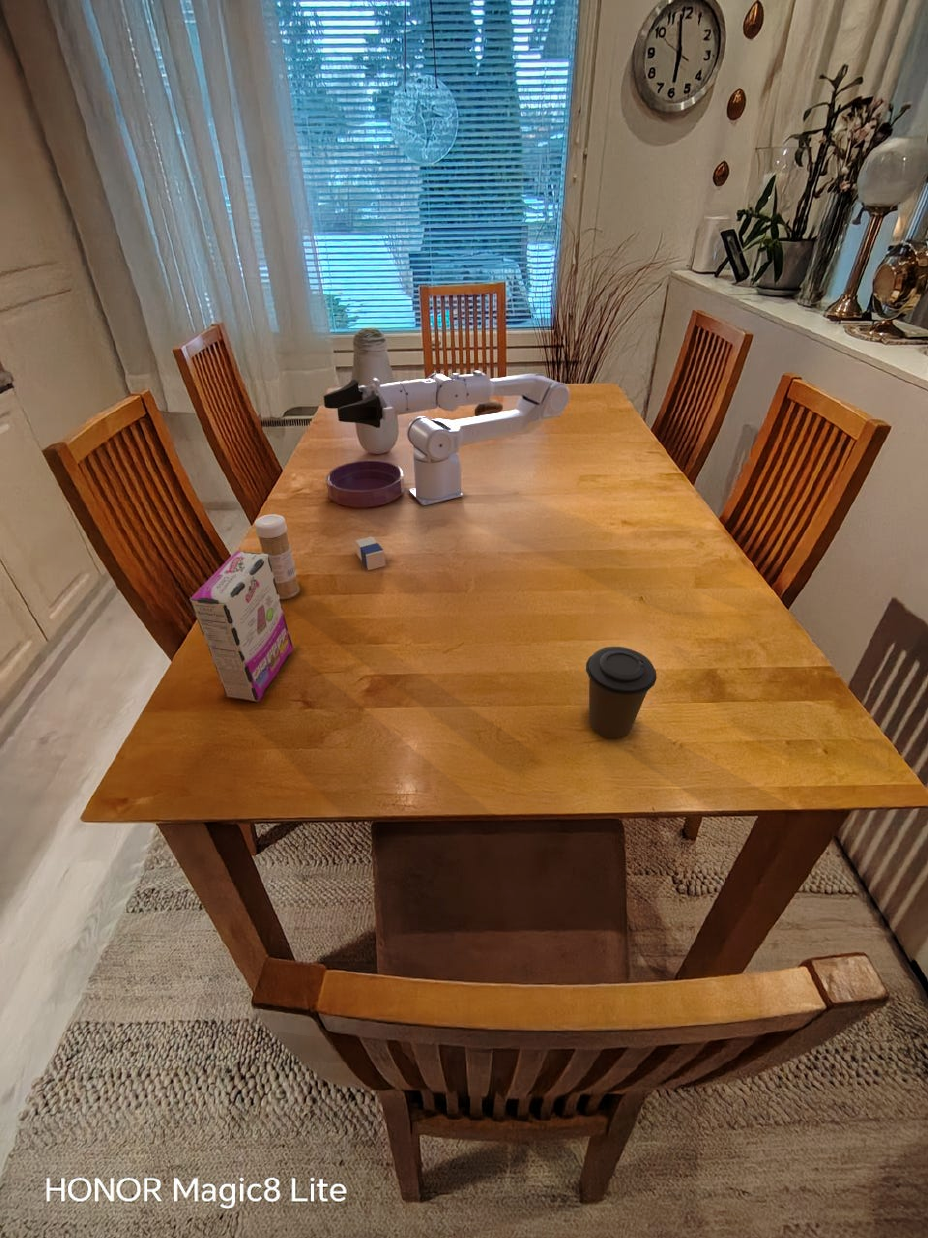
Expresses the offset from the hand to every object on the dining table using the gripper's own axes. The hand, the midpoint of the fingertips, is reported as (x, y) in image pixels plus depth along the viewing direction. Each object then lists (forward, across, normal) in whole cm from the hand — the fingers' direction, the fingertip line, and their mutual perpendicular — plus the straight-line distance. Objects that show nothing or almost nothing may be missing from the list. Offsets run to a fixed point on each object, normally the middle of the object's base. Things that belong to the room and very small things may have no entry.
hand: (331, 408), depth 106 cm
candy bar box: (+26, +40, +21) cm, 52 cm away
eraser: (+2, +19, +21) cm, 28 cm away
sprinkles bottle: (+18, +22, +22) cm, 35 cm away
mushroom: (-55, -34, +22) cm, 68 cm away
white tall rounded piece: (-20, -28, +22) cm, 41 cm away
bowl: (-8, -8, +22) cm, 24 cm away
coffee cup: (-10, +70, +19) cm, 74 cm away
